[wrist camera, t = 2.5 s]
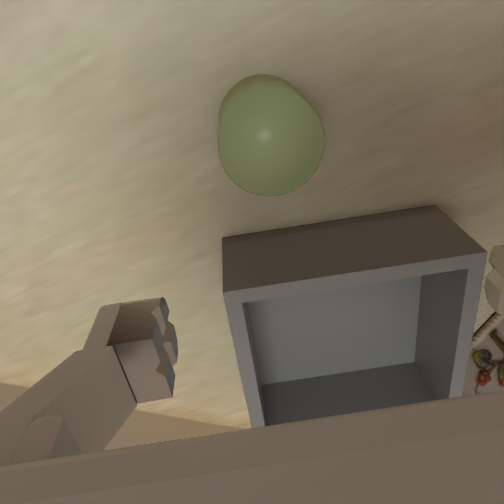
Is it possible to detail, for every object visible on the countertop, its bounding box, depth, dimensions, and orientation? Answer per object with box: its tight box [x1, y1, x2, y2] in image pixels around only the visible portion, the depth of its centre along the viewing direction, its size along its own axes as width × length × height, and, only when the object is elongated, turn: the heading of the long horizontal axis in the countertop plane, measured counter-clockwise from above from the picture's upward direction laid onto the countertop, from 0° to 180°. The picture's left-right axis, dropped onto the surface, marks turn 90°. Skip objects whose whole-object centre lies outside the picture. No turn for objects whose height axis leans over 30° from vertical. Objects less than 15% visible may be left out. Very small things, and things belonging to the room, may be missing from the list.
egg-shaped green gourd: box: [218, 75, 324, 196], centre depth 24 cm, size 6×6×6 cm
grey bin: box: [222, 205, 487, 428], centre depth 32 cm, size 16×16×7 cm
